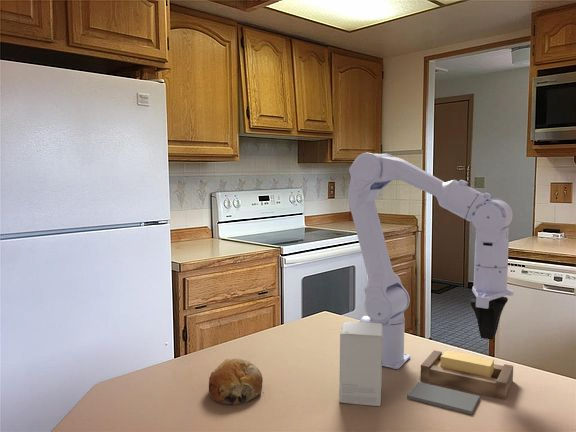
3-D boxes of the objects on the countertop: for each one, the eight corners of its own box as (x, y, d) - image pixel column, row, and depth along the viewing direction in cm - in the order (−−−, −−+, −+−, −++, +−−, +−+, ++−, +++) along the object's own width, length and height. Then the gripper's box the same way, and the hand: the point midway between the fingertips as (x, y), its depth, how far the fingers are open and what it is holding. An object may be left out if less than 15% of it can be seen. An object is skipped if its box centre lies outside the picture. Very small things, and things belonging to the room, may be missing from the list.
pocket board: (420, 380, 95) (420, 365, 94) (433, 364, 102) (433, 350, 102) (505, 399, 87) (506, 383, 86) (512, 380, 94) (513, 365, 94)
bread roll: (267, 407, 92) (273, 363, 94) (246, 408, 82) (254, 359, 85) (219, 399, 95) (226, 357, 97) (195, 399, 86) (203, 352, 88)
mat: (407, 398, 87) (407, 395, 87) (418, 384, 93) (418, 381, 93) (471, 414, 81) (471, 411, 81) (479, 399, 87) (479, 396, 87)
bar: (440, 369, 95) (440, 356, 95) (445, 362, 98) (446, 350, 98) (489, 379, 90) (490, 366, 90) (493, 371, 94) (494, 359, 93)
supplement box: (381, 407, 84) (382, 335, 83) (338, 403, 86) (338, 333, 84) (381, 388, 91) (382, 322, 90) (342, 384, 93) (342, 320, 92)
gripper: (508, 274, 82) (504, 353, 83) (519, 260, 94) (516, 329, 96) (464, 270, 86) (462, 345, 87) (481, 257, 98) (478, 323, 99)
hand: (488, 336), depth 92 cm, fingers closed
